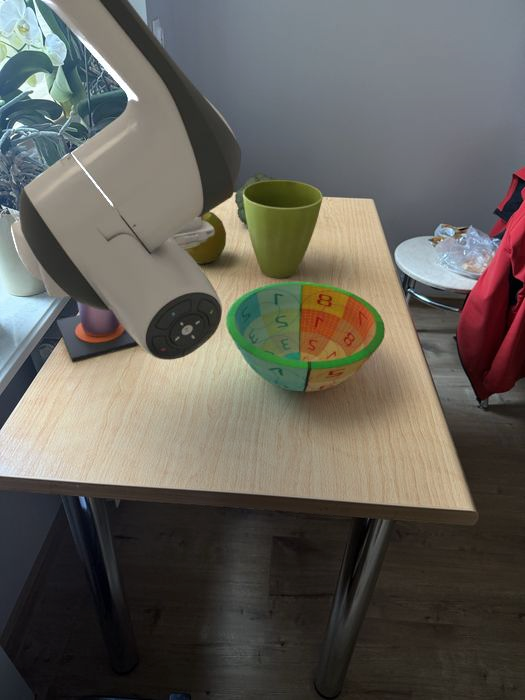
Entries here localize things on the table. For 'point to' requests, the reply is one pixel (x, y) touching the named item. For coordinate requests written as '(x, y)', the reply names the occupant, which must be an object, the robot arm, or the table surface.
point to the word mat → (91, 340)
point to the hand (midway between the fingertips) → (95, 207)
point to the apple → (210, 241)
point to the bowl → (304, 333)
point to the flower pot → (281, 223)
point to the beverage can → (97, 321)
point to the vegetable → (239, 194)
